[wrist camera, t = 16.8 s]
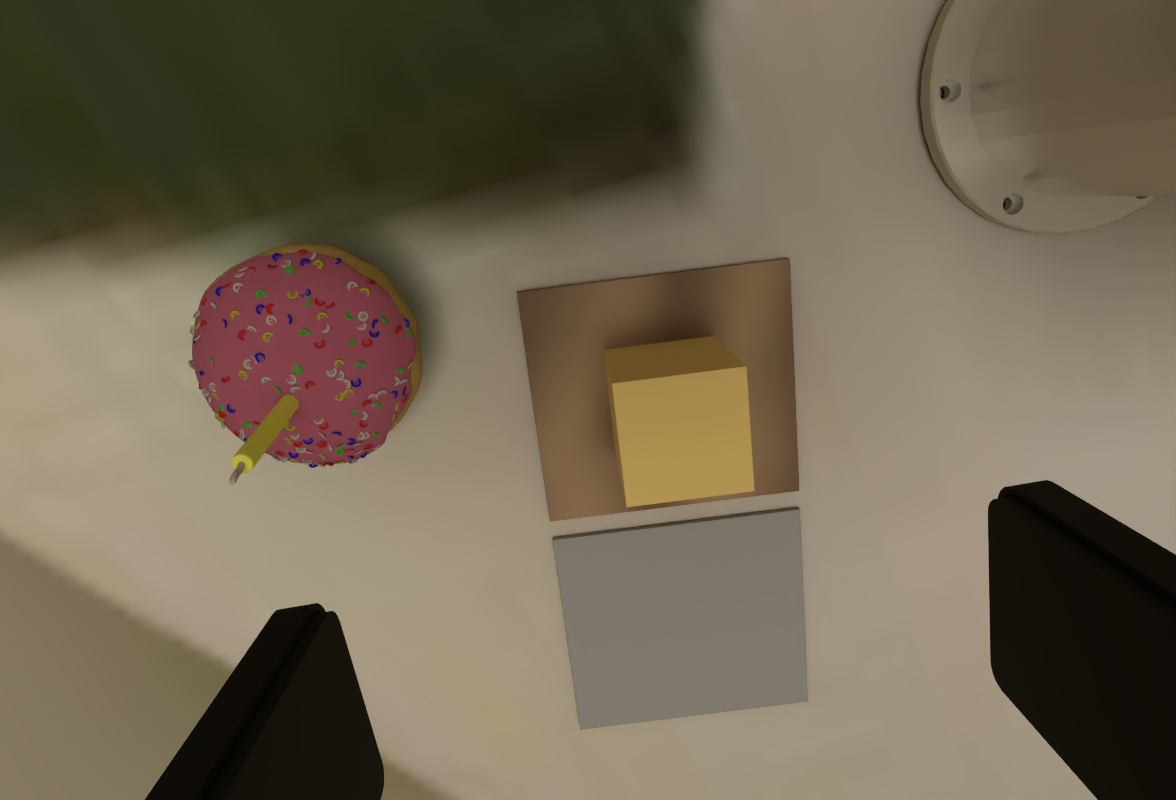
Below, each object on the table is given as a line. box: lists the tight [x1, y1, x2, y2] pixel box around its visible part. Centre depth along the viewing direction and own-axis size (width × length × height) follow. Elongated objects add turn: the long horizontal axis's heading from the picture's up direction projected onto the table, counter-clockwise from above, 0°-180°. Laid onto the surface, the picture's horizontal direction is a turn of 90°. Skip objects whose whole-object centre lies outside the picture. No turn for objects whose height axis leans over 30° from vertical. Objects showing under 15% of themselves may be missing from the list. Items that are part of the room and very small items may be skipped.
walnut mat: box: [517, 258, 799, 521], centre depth 33 cm, size 12×11×1 cm
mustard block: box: [603, 336, 754, 507], centre depth 30 cm, size 5×5×6 cm
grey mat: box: [553, 507, 808, 730], centre depth 37 cm, size 12×11×1 cm
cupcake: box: [188, 243, 422, 485], centre depth 27 cm, size 9×8×12 cm
